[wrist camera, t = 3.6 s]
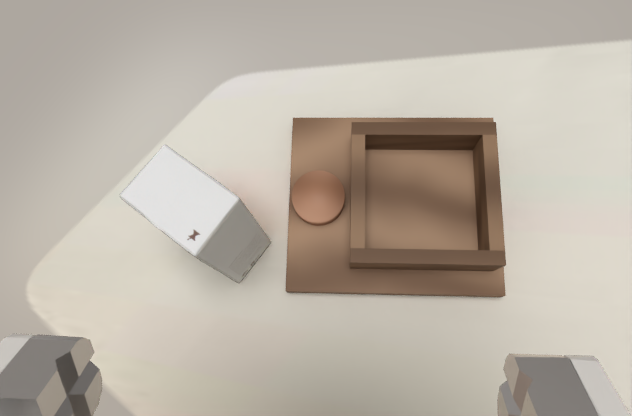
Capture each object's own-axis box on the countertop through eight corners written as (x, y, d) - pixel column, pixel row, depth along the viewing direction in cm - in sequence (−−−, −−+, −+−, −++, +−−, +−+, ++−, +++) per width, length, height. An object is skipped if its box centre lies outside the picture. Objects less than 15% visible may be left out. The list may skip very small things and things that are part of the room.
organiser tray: (500, 297, 38) (519, 291, 33) (287, 292, 38) (280, 286, 34) (488, 124, 41) (504, 100, 37) (294, 123, 42) (288, 100, 38)
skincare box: (273, 241, 40) (243, 199, 28) (239, 284, 39) (194, 260, 27) (215, 197, 41) (163, 140, 29) (181, 239, 40) (114, 197, 29)
